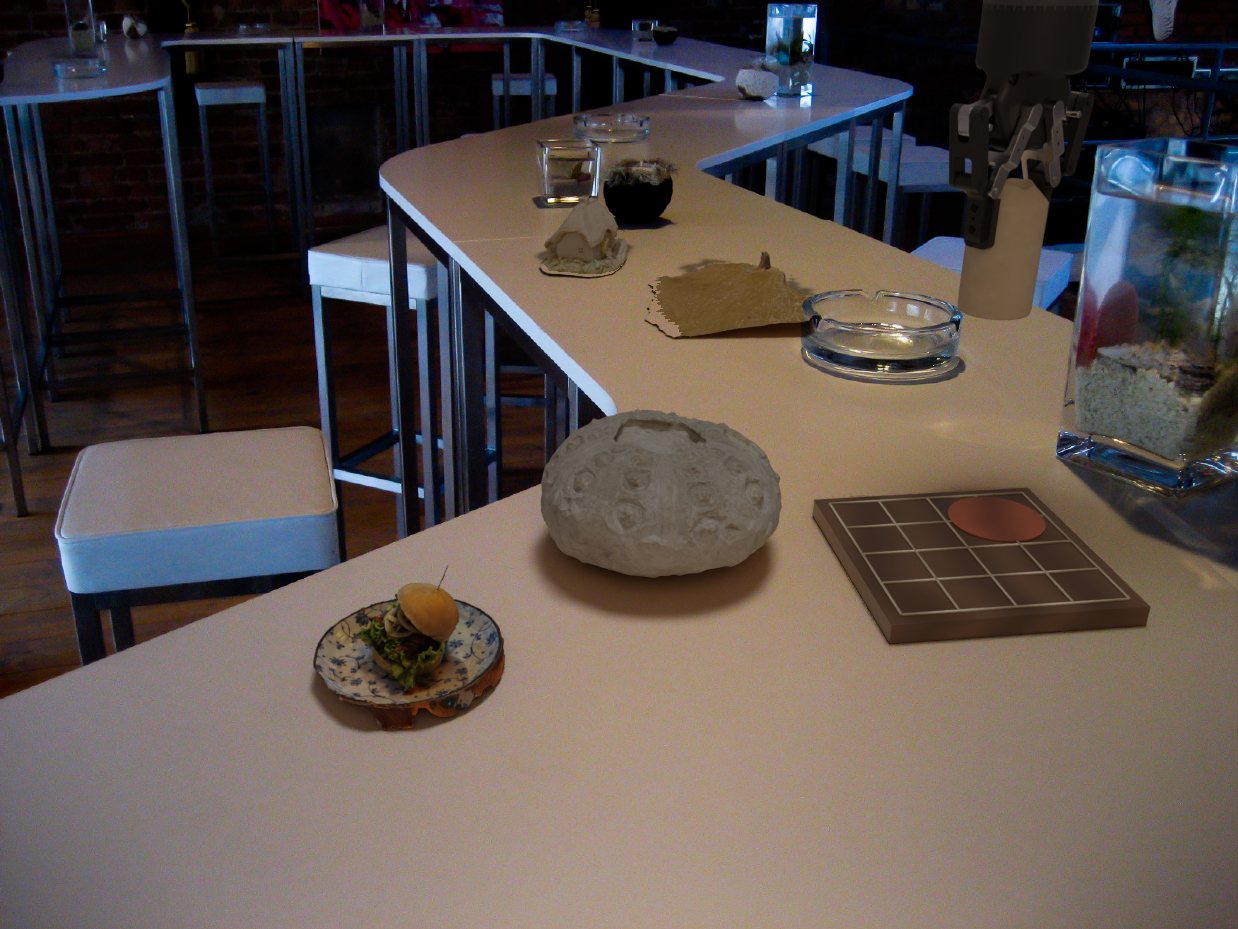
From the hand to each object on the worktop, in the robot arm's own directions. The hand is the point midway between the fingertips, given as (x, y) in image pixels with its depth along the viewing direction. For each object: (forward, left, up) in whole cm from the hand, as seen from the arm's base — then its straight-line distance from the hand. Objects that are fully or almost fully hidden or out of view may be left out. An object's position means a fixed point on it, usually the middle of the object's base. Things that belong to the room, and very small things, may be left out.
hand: (1004, 240), depth 82 cm
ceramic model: (+25, -75, -21) cm, 82 cm away
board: (+5, +12, -21) cm, 25 cm away
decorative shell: (+27, +7, -21) cm, 35 cm away
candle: (0, 0, -6) cm, 6 cm away
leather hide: (+9, -53, -21) cm, 58 cm away
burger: (+45, +20, -21) cm, 54 cm away
